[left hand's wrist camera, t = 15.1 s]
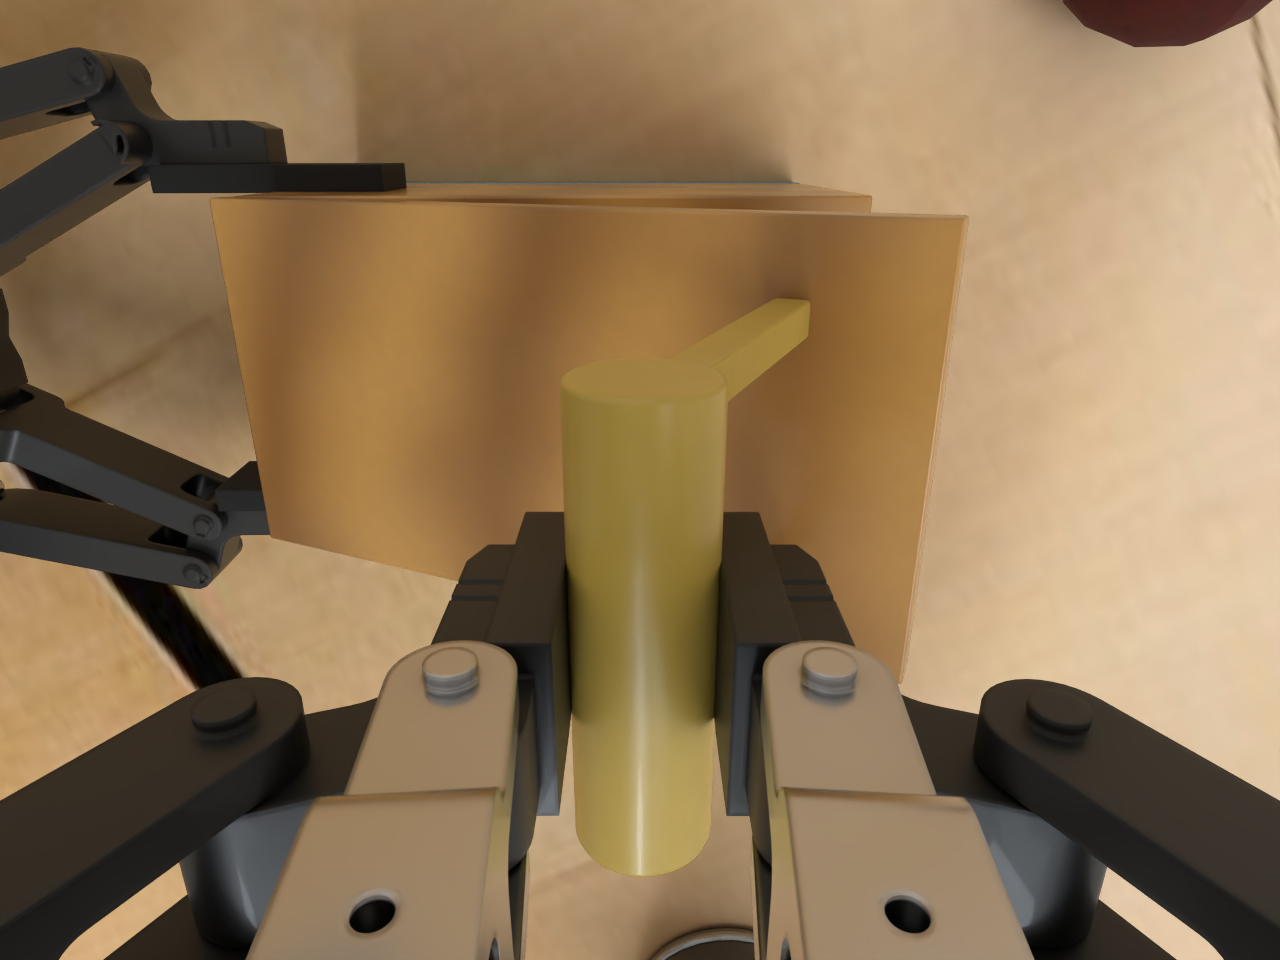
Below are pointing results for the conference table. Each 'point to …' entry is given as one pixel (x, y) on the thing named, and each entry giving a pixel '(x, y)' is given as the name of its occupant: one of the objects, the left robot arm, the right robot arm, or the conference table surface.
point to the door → (605, 430)
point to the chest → (621, 195)
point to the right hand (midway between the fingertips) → (411, 340)
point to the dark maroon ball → (1162, 19)
